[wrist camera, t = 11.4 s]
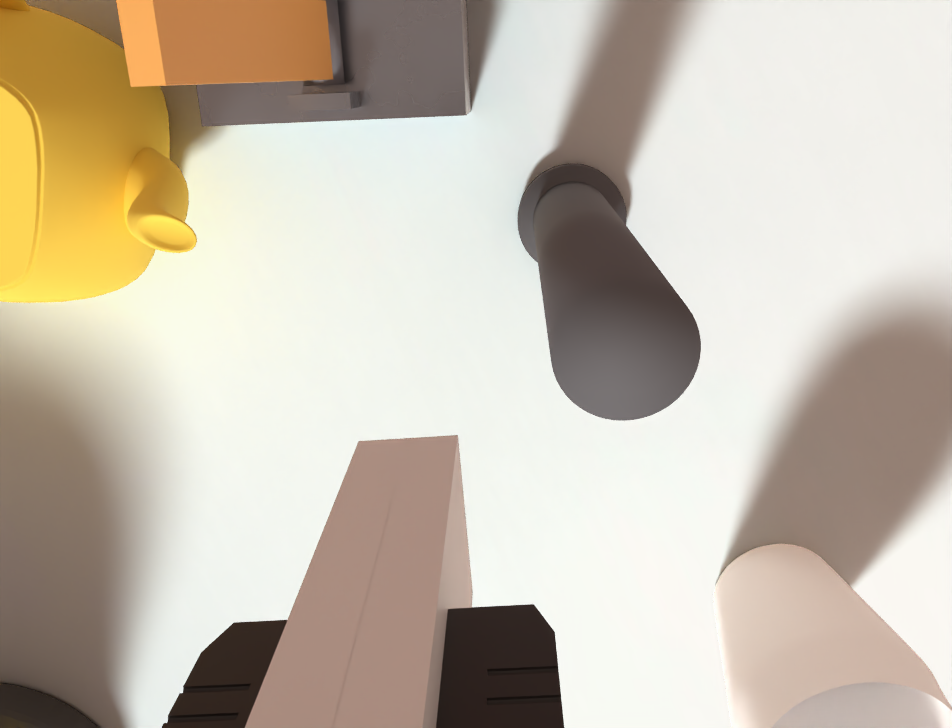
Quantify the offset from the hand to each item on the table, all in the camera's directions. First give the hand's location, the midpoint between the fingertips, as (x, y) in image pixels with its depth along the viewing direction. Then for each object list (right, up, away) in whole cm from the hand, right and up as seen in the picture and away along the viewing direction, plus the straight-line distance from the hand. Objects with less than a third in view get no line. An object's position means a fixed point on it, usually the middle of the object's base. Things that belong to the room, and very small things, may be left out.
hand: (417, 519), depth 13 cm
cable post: (+5, +9, +26) cm, 28 cm away
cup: (+17, -10, +33) cm, 38 cm away
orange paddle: (-5, +15, +19) cm, 25 cm away
